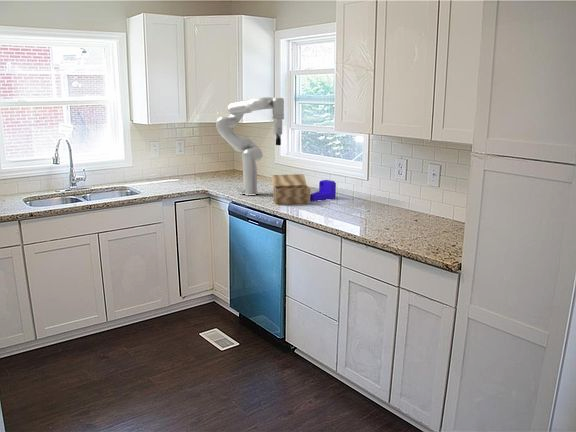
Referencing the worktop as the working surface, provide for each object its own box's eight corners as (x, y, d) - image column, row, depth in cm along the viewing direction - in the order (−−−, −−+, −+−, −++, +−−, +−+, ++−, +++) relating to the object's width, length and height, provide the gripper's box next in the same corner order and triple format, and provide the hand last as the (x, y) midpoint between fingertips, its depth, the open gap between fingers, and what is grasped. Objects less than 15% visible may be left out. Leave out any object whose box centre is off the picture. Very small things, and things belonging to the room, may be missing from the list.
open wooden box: (275, 204, 333) (275, 189, 330) (273, 200, 344) (273, 185, 342) (310, 203, 336) (310, 188, 334) (306, 200, 347) (306, 185, 345)
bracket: (323, 196, 360) (323, 179, 357) (335, 198, 352) (335, 181, 350) (305, 200, 348) (305, 182, 345) (317, 202, 340) (317, 184, 338)
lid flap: (271, 174, 351) (271, 175, 351) (273, 185, 342) (273, 186, 342) (303, 174, 354) (303, 174, 354) (306, 184, 345) (306, 185, 345)
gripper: (271, 116, 352) (271, 144, 356) (273, 117, 337) (274, 146, 342) (282, 116, 353) (282, 143, 357) (285, 117, 338) (285, 146, 343)
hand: (278, 145), depth 349 cm, fingers closed
